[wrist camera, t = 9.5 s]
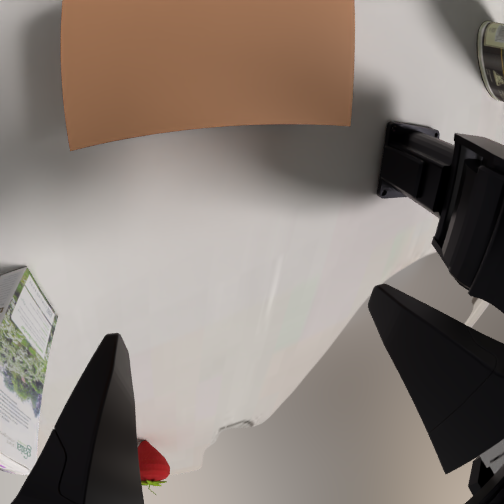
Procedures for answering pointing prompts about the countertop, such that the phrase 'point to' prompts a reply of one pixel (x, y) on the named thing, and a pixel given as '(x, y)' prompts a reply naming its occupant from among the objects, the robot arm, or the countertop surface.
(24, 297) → the syrup box
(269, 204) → the countertop surface
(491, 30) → the coffee can
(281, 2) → the block
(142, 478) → the strawberry
